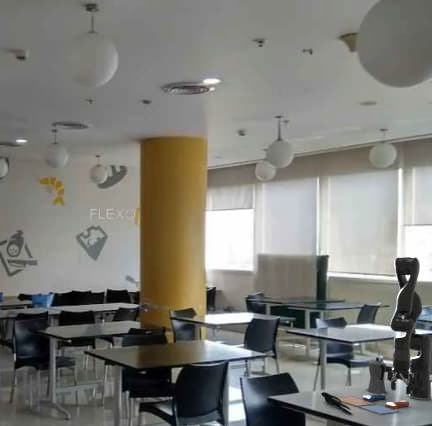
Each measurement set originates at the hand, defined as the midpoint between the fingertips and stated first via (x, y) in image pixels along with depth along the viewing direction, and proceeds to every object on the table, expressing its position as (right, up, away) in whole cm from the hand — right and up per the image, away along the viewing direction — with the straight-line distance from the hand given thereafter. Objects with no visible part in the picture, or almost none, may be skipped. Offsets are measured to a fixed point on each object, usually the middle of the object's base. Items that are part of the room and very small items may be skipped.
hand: (400, 392), depth 300 cm
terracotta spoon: (-2, -7, -1) cm, 7 cm away
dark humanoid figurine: (-31, -6, -6) cm, 32 cm away
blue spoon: (-8, -7, +12) cm, 16 cm away
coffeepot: (+2, -9, +30) cm, 31 cm away
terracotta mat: (-20, -7, +6) cm, 22 cm away
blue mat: (-14, -6, -8) cm, 17 cm away
